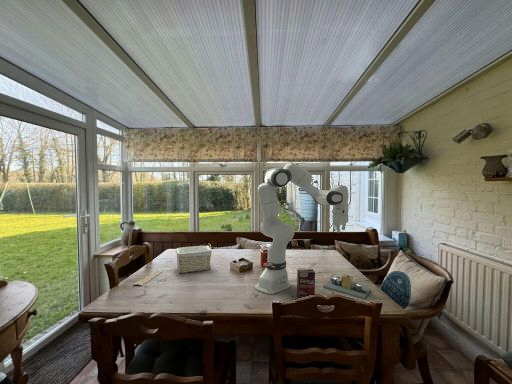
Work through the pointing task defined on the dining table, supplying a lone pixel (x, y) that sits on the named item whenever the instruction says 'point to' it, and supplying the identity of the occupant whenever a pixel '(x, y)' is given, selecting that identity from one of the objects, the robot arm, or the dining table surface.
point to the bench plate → (345, 290)
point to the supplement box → (305, 282)
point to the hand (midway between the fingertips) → (341, 230)
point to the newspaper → (149, 277)
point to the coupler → (347, 281)
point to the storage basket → (193, 258)
